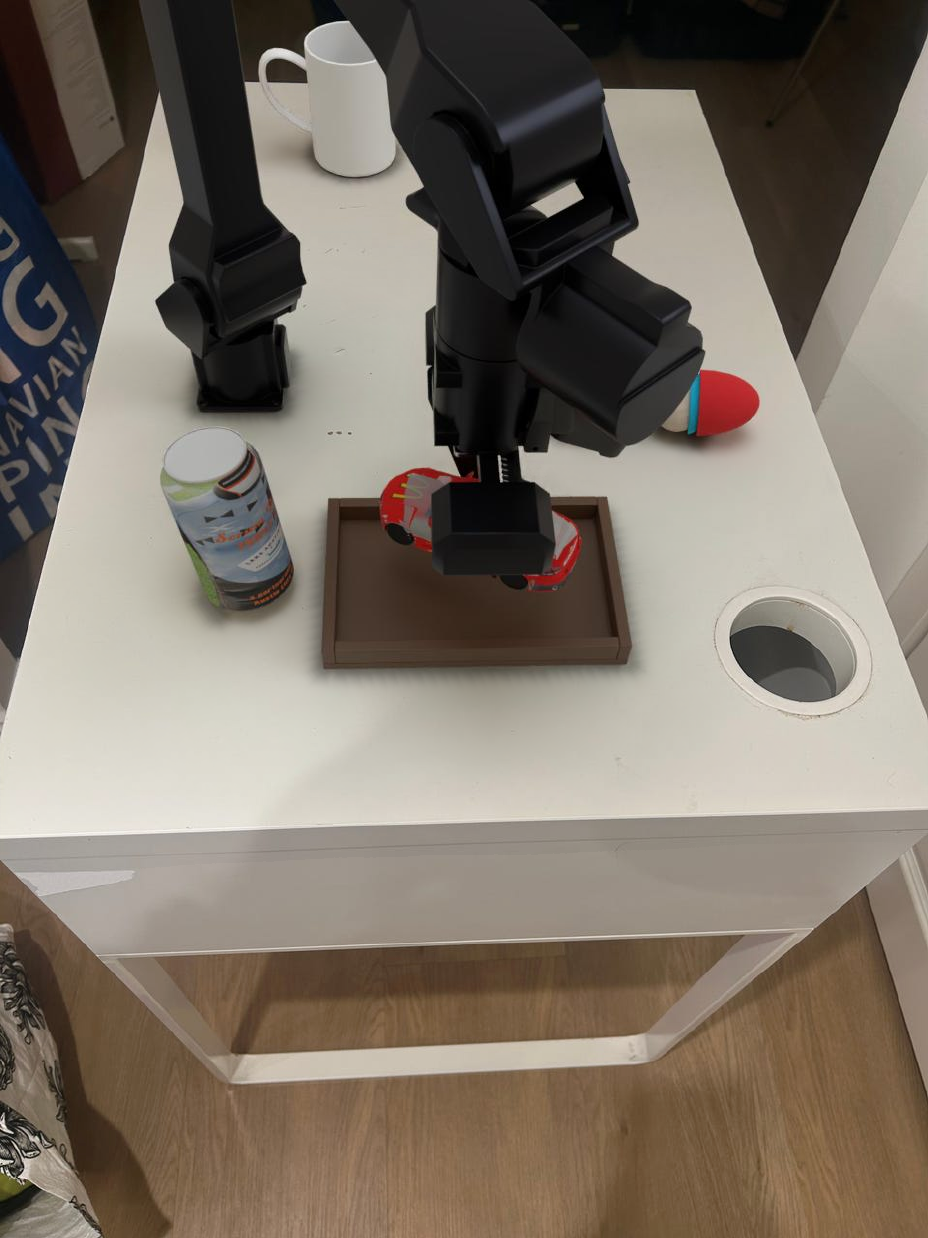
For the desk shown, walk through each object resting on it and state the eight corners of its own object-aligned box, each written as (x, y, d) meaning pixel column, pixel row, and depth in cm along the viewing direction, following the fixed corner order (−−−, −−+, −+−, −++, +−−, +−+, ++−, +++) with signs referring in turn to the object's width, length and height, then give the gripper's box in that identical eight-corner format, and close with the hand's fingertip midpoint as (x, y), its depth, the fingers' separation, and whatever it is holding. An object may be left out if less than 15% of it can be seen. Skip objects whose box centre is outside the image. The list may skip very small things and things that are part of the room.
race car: (363, 532, 62) (360, 490, 59) (404, 476, 65) (403, 433, 62) (552, 611, 59) (560, 572, 56) (586, 549, 62) (595, 508, 59)
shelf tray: (323, 669, 62) (321, 651, 60) (330, 517, 69) (328, 497, 68) (626, 663, 63) (632, 646, 62) (602, 515, 70) (607, 495, 69)
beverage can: (257, 638, 63) (228, 519, 53) (171, 587, 65) (127, 463, 55) (316, 573, 66) (298, 449, 56) (231, 527, 68) (200, 399, 58)
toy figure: (556, 456, 75) (757, 459, 73) (553, 405, 72) (765, 406, 69) (565, 396, 80) (754, 396, 77) (563, 345, 76) (761, 343, 74)
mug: (393, 132, 97) (391, 20, 89) (397, 177, 93) (395, 64, 84) (270, 133, 96) (256, 20, 88) (269, 179, 92) (253, 65, 83)
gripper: (686, 463, 43) (622, 649, 56) (628, 212, 54) (586, 418, 67) (435, 464, 43) (430, 652, 56) (426, 209, 53) (423, 418, 66)
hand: (475, 524), depth 61 cm, fingers closed on race car, 6 cm apart
